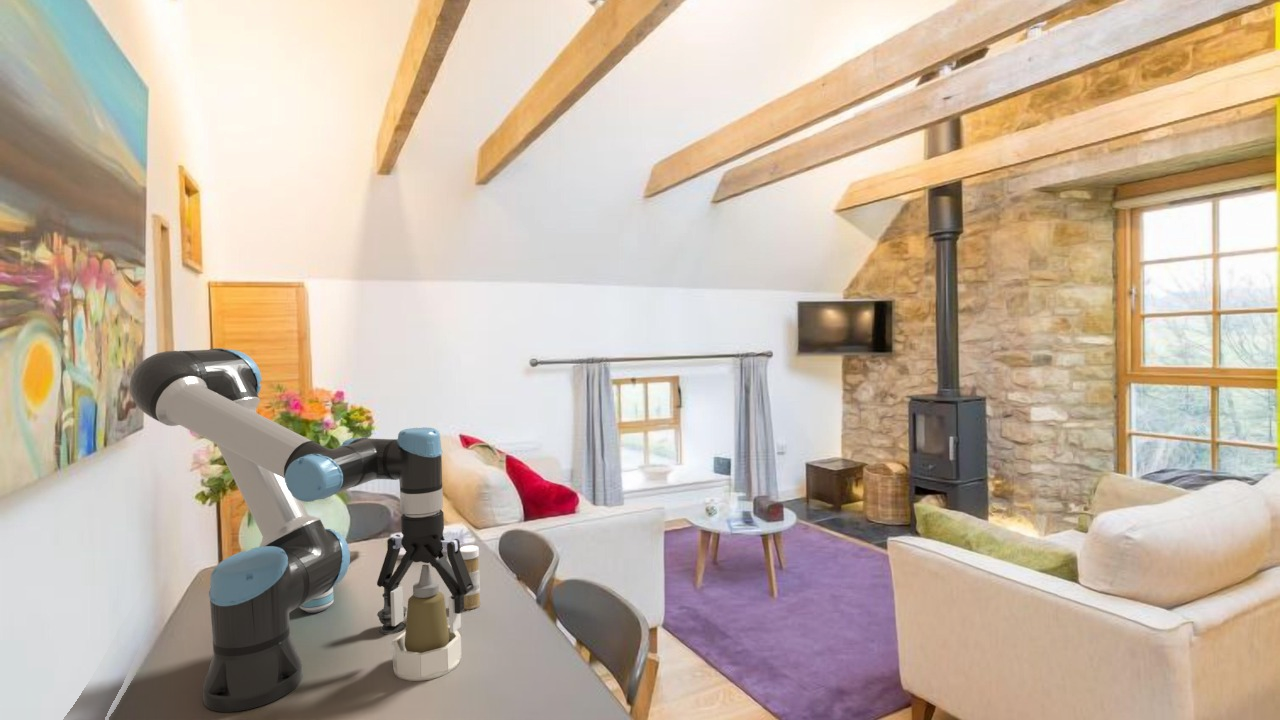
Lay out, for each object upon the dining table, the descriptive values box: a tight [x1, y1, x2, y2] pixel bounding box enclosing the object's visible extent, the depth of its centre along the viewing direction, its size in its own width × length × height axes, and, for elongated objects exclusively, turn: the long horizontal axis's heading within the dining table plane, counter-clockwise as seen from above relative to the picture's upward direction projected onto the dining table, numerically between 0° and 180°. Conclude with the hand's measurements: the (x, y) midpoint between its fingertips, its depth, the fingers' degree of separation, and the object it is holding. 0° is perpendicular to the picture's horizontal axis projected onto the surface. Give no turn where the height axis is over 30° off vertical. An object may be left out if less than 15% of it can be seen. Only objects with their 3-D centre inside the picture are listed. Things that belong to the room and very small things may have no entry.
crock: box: [391, 624, 463, 682], centre depth 122 cm, size 12×12×5 cm
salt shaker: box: [376, 585, 408, 635], centre depth 136 cm, size 6×6×12 cm
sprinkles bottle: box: [460, 544, 481, 610], centre depth 147 cm, size 5×5×14 cm
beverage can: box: [299, 587, 334, 614], centre depth 147 cm, size 7×7×12 cm
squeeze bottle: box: [405, 563, 449, 653], centre depth 121 cm, size 8×8×18 cm
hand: (426, 626), depth 121 cm, fingers open, 11 cm apart
